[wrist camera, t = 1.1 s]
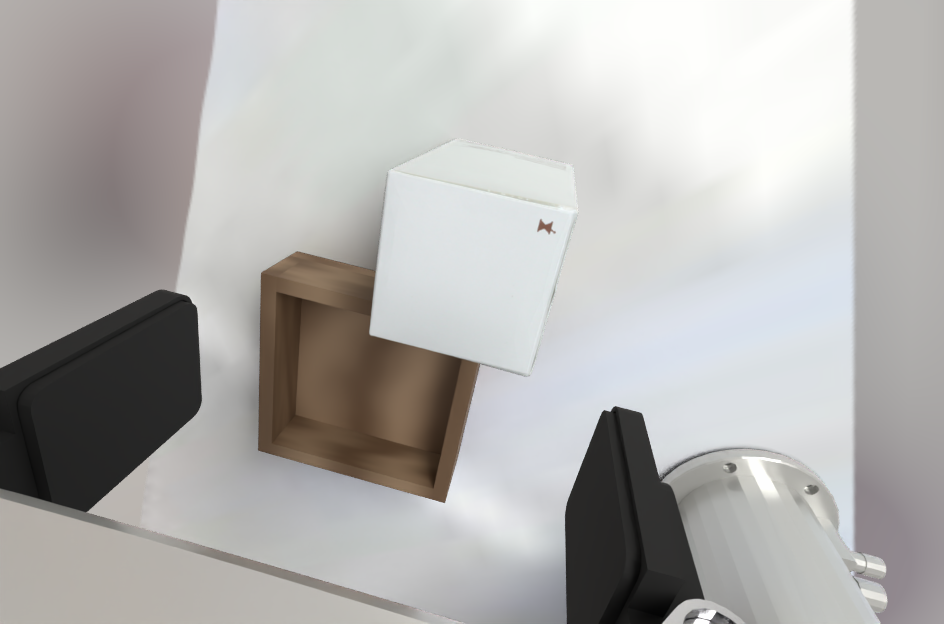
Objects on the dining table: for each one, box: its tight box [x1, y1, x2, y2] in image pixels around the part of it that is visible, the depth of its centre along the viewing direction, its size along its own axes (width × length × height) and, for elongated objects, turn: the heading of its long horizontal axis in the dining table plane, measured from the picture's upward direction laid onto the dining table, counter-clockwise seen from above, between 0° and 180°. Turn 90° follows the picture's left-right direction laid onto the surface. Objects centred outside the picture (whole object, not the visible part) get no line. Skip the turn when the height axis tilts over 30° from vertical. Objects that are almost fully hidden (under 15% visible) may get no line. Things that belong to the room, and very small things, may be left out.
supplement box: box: [369, 138, 579, 377], centre depth 25 cm, size 7×7×13 cm
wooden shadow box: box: [258, 252, 480, 503], centre depth 34 cm, size 14×14×4 cm
